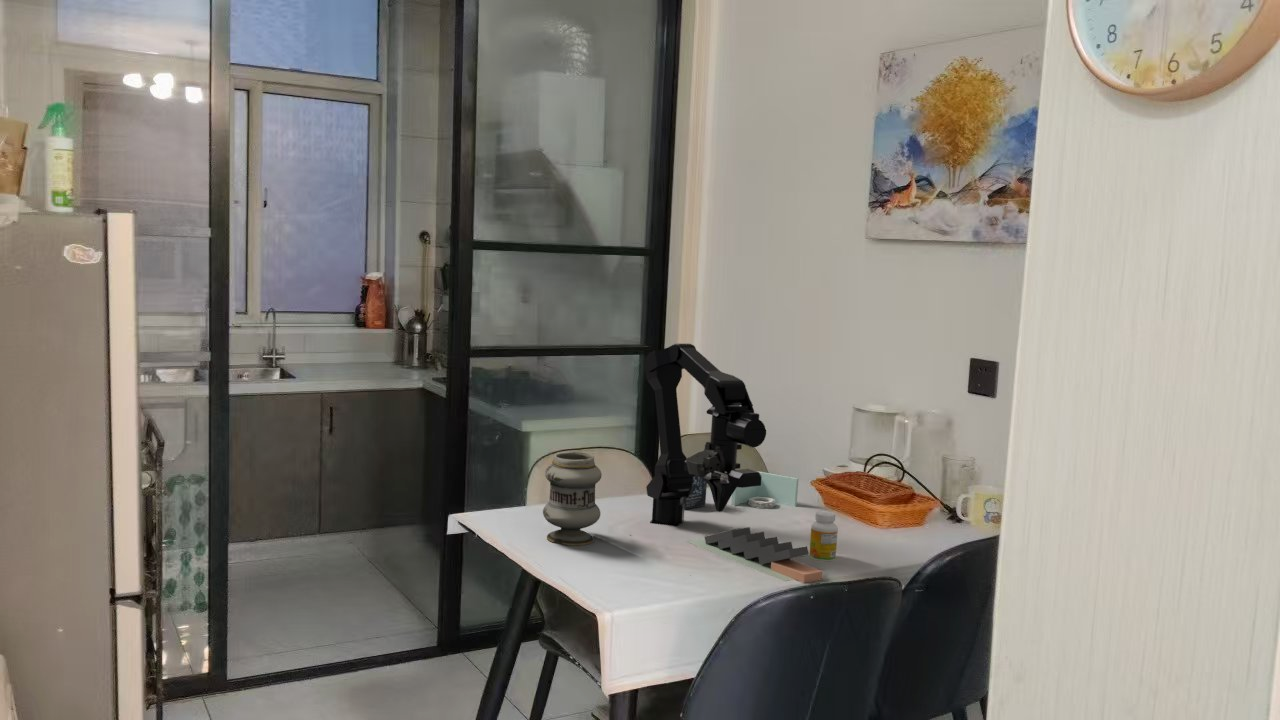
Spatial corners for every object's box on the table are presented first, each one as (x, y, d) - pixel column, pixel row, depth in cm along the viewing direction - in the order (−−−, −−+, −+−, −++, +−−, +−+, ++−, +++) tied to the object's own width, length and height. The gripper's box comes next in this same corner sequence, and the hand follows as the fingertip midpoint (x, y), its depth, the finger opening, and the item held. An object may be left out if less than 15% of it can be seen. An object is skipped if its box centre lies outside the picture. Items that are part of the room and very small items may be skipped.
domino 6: (771, 561, 206) (804, 574, 199) (789, 558, 209) (822, 571, 202) (770, 569, 206) (803, 582, 199) (789, 566, 209) (822, 579, 202)
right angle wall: (731, 507, 261) (733, 477, 260) (754, 499, 271) (756, 470, 270) (774, 516, 254) (776, 485, 254) (796, 507, 264) (798, 478, 264)
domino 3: (730, 546, 216) (758, 539, 209) (748, 543, 219) (777, 536, 212) (731, 554, 215) (760, 547, 208) (749, 551, 218) (778, 544, 211)
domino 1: (704, 536, 222) (731, 529, 215) (722, 534, 225) (749, 527, 218) (705, 544, 222) (733, 537, 215) (723, 541, 225) (751, 534, 218)
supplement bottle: (806, 555, 220) (809, 509, 219) (831, 555, 220) (834, 510, 219) (812, 562, 215) (816, 516, 214) (838, 563, 215) (841, 517, 214)
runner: (685, 543, 223) (685, 541, 223) (721, 538, 229) (721, 536, 229) (784, 583, 199) (785, 581, 199) (821, 576, 205) (822, 574, 205)
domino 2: (717, 541, 219) (745, 534, 212) (735, 538, 222) (763, 531, 215) (719, 549, 218) (747, 542, 211) (737, 546, 221) (765, 539, 214)
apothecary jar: (531, 541, 218) (535, 455, 216) (557, 528, 229) (561, 447, 228) (584, 550, 214) (589, 463, 212) (607, 536, 225) (612, 454, 223)
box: (684, 510, 253) (686, 467, 252) (667, 505, 257) (670, 462, 256) (706, 506, 258) (708, 463, 257) (689, 501, 262) (692, 459, 261)
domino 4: (743, 551, 212) (772, 544, 205) (761, 548, 215) (791, 541, 208) (745, 559, 212) (774, 552, 205) (763, 556, 215) (793, 549, 208)
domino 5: (758, 556, 209) (788, 549, 202) (776, 553, 212) (807, 546, 205) (759, 564, 209) (790, 557, 202) (778, 561, 211) (808, 554, 205)
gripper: (666, 433, 223) (662, 505, 225) (724, 449, 208) (719, 526, 210) (706, 430, 230) (702, 500, 231) (765, 445, 215) (760, 520, 216)
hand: (719, 511), depth 222 cm, fingers closed
